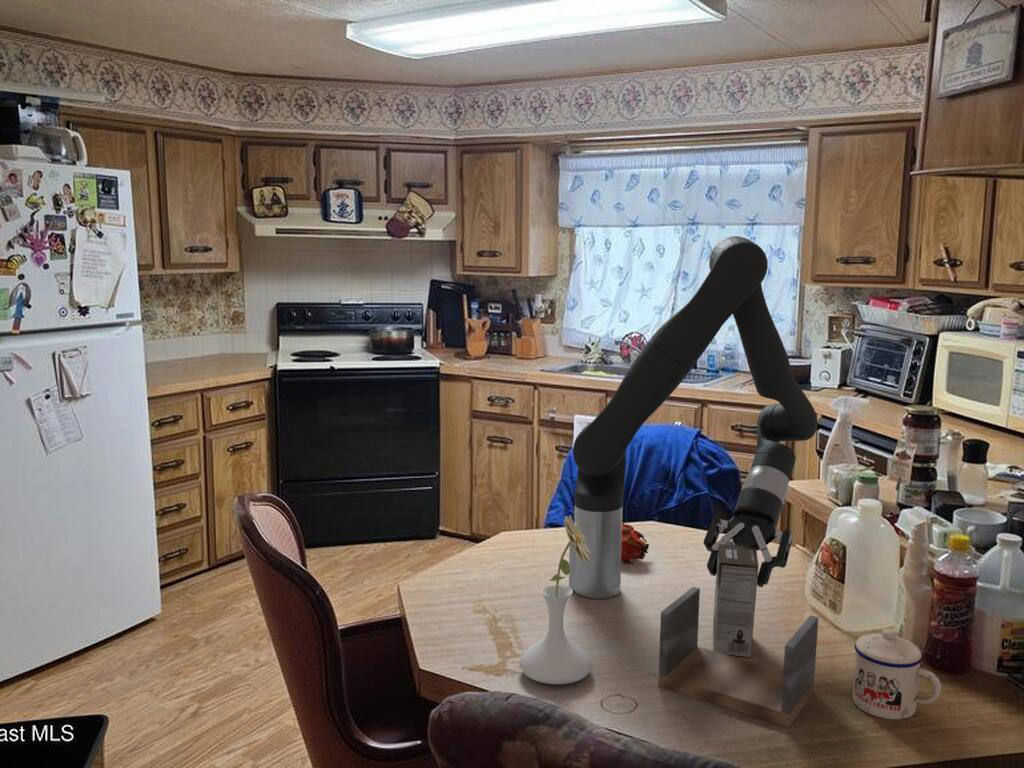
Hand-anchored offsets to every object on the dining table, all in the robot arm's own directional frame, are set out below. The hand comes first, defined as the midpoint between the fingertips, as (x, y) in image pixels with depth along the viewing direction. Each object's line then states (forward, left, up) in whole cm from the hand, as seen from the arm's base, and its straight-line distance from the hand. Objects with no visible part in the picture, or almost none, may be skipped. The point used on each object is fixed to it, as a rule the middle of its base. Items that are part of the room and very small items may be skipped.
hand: (735, 579), depth 146 cm
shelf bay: (+6, -15, -11) cm, 20 cm away
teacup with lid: (+27, -7, -11) cm, 30 cm away
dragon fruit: (-33, +24, -11) cm, 42 cm away
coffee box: (0, -1, -11) cm, 11 cm away
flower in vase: (-19, -26, -11) cm, 34 cm away
